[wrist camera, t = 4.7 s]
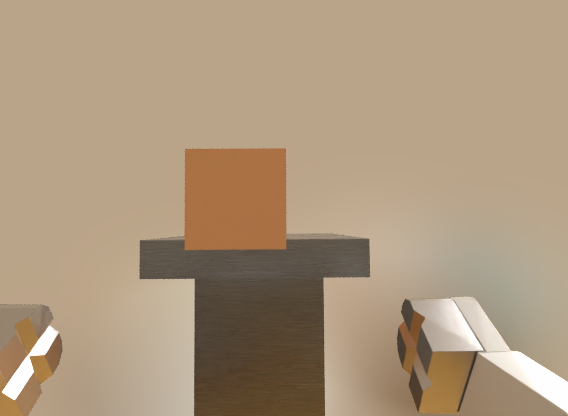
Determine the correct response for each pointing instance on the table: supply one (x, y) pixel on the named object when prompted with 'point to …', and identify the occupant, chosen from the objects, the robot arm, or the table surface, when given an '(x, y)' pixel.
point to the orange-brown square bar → (235, 199)
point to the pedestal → (259, 319)
